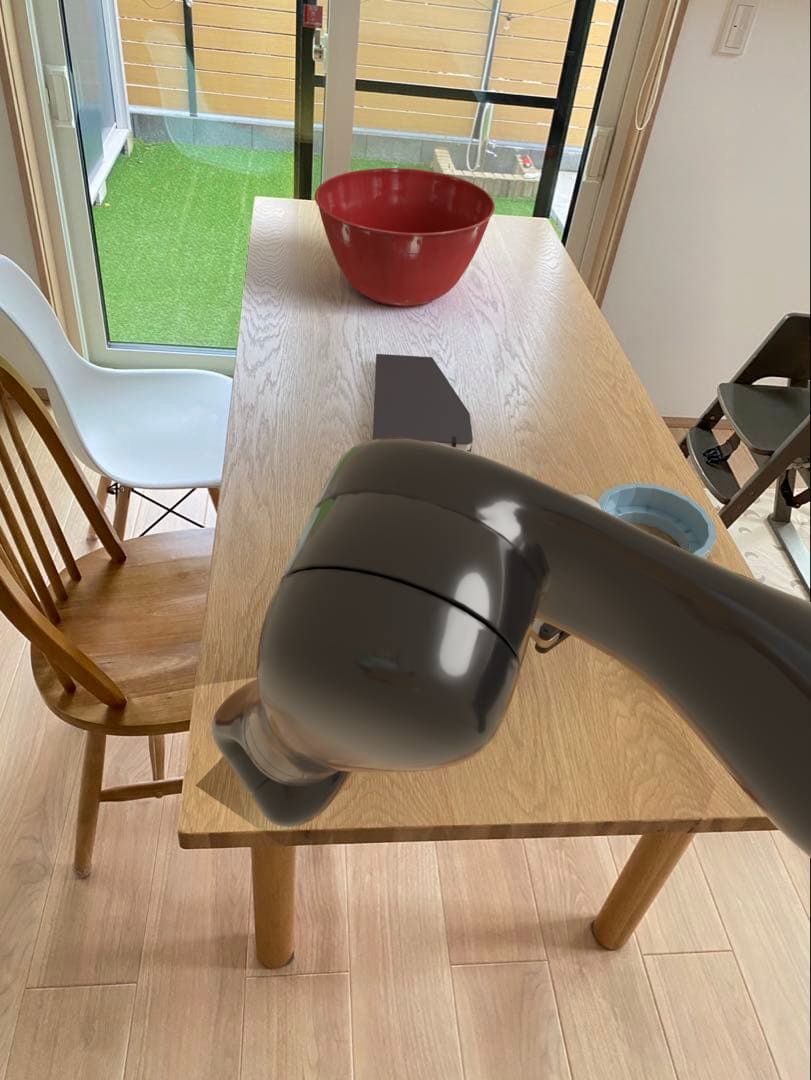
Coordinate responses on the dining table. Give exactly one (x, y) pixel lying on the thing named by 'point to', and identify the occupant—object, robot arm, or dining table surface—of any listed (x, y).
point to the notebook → (418, 403)
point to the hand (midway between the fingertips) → (556, 548)
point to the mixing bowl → (403, 231)
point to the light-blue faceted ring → (663, 514)
